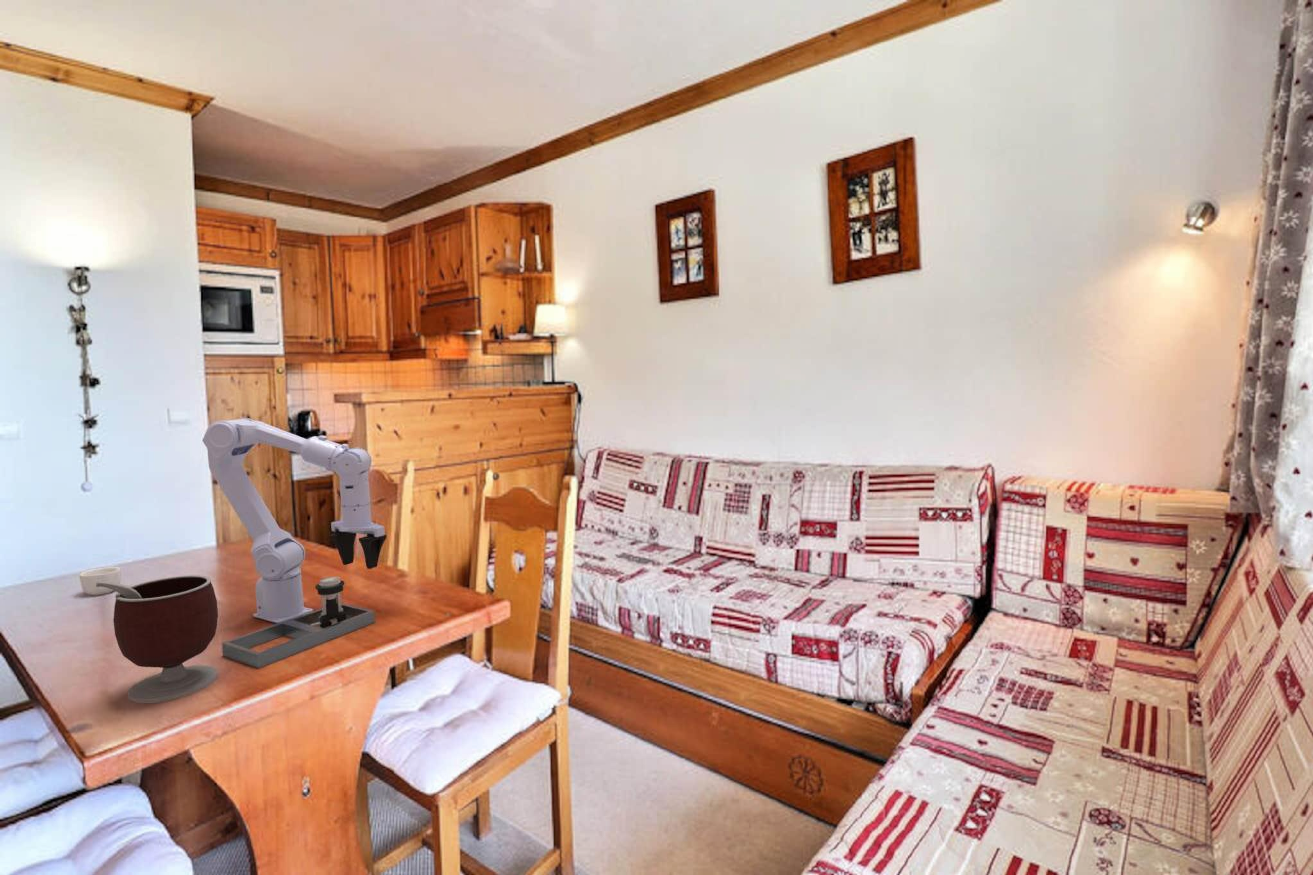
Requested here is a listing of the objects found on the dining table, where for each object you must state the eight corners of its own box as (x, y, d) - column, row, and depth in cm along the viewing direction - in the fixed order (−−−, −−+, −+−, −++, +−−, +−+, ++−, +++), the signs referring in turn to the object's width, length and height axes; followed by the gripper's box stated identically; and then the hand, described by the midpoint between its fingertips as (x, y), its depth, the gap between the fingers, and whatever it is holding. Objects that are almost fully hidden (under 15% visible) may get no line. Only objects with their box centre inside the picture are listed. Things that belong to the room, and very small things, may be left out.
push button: (315, 635, 130) (311, 586, 129) (308, 628, 134) (304, 580, 133) (350, 626, 134) (347, 579, 133) (343, 619, 138) (339, 573, 137)
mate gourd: (215, 659, 120) (205, 553, 118) (231, 684, 110) (220, 569, 108) (105, 688, 110) (93, 573, 108) (112, 719, 100) (98, 592, 98)
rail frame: (222, 655, 122) (221, 642, 121) (339, 613, 142) (339, 602, 142) (258, 668, 116) (257, 654, 116) (374, 622, 137) (373, 610, 137)
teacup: (124, 592, 161) (121, 570, 160) (82, 600, 156) (80, 578, 155) (119, 583, 168) (117, 563, 167) (79, 591, 163) (77, 570, 162)
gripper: (316, 505, 141) (321, 566, 142) (363, 510, 134) (367, 574, 135) (345, 499, 147) (349, 558, 148) (391, 504, 140) (394, 565, 142)
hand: (360, 565), depth 142 cm, fingers open, 7 cm apart
